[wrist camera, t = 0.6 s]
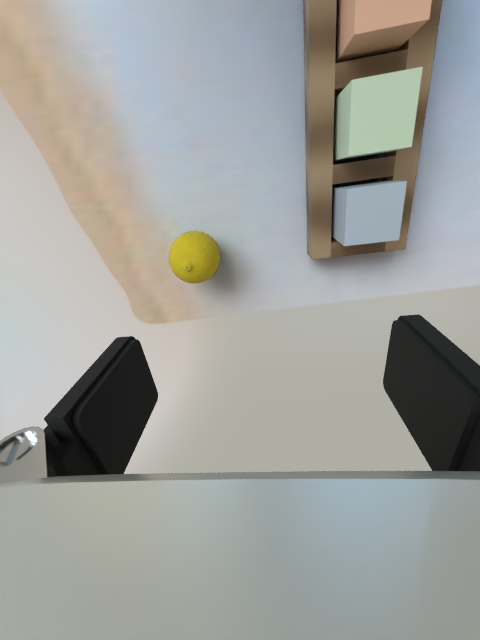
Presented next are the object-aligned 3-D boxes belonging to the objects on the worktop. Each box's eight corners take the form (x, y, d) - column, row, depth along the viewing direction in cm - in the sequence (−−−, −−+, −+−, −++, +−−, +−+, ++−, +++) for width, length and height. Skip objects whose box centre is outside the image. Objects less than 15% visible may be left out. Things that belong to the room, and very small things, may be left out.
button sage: (335, 98, 25) (352, 79, 20) (392, 87, 24) (422, 66, 19) (333, 160, 27) (348, 156, 22) (386, 152, 26) (411, 146, 22)
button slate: (333, 187, 28) (346, 189, 23) (383, 180, 27) (407, 180, 23) (331, 236, 30) (344, 246, 26) (378, 231, 30) (399, 239, 25)
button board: (302, -35, 22) (308, -65, 19) (432, -67, 21) (457, -103, 18) (307, 253, 33) (311, 259, 30) (392, 243, 32) (405, 249, 29)
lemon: (171, 243, 33) (148, 260, 26) (205, 216, 32) (190, 226, 25) (199, 278, 35) (183, 302, 28) (232, 255, 34) (225, 274, 27)
